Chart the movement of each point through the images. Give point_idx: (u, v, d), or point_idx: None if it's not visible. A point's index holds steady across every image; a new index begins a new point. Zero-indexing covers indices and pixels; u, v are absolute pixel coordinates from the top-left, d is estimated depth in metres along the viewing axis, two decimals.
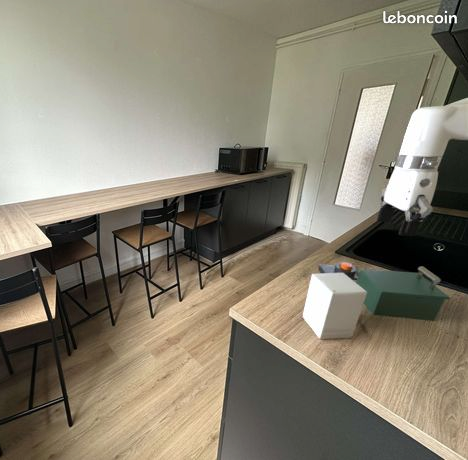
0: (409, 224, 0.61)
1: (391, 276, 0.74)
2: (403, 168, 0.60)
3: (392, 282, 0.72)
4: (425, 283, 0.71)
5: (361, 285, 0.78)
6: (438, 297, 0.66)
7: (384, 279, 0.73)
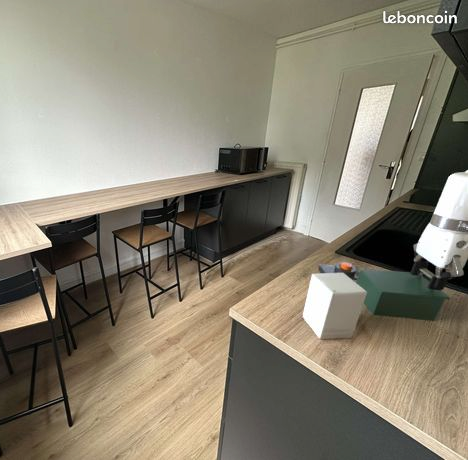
0: (438, 280, 0.66)
1: (391, 276, 0.74)
2: (439, 228, 0.63)
3: (392, 282, 0.72)
4: (425, 283, 0.71)
5: (361, 285, 0.78)
6: (438, 297, 0.66)
7: (384, 279, 0.73)
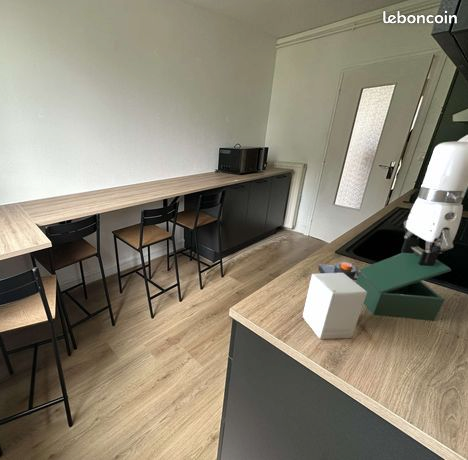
0: (428, 255, 0.64)
1: (390, 265, 0.73)
2: (427, 200, 0.61)
3: (391, 273, 0.71)
4: None
5: (361, 285, 0.78)
6: (439, 273, 0.63)
7: (383, 273, 0.72)
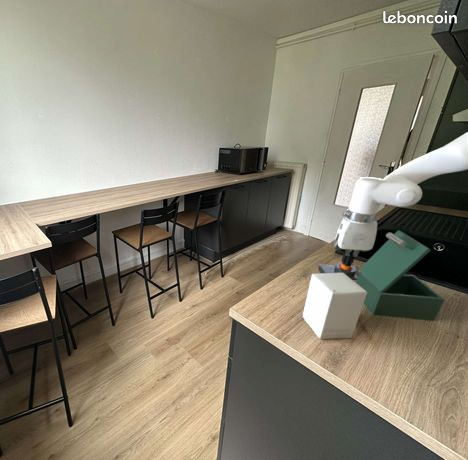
0: None
1: (381, 258, 0.73)
2: None
3: (383, 268, 0.71)
4: (406, 243, 0.68)
5: (361, 285, 0.78)
6: (421, 256, 0.63)
7: (378, 269, 0.72)
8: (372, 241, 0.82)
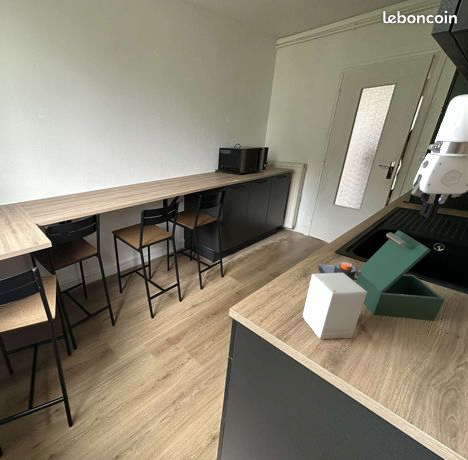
0: None
1: (381, 258, 0.73)
2: None
3: (383, 268, 0.71)
4: (406, 243, 0.68)
5: (361, 285, 0.78)
6: (421, 256, 0.63)
7: (378, 269, 0.72)
8: None
